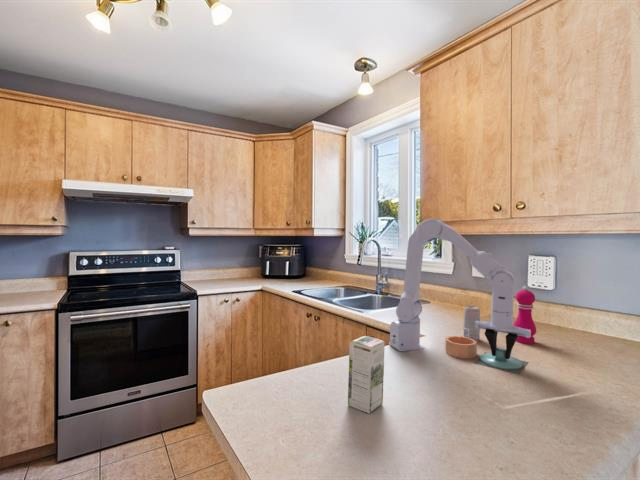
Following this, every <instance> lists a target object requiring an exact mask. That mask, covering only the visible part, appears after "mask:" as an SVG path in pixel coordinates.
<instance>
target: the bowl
mask: <svg viewBox="0 0 640 480" xmlns="http://www.w3.org/2000/svg"><path fill="white" fill-rule="evenodd" d="M477 348H478V341H475V340H473V339H471V338H467V337H463V336H460V335H450V336H449V335H448V336H446V337H445V340H444V351H445V353H446V354H447V355H449V356H451V357H455V358H459V359H473V358H476V357H477V355H478V349H477Z"/></svg>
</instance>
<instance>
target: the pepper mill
mask: <svg viewBox="0 0 640 480" xmlns="http://www.w3.org/2000/svg"><path fill="white" fill-rule="evenodd" d="M515 301H517V304H516V308H517V309H518V314H517V316H516V319H515V321H513V326H516V327H520V328H524V329H528V330H531V337H530V338H526V337H524V336H519V337H518V338H517V340H516V342H517V343H519V344H525V345H533V344H535V339H536V338H535V337H534V335H536V334H537V326H536V324H535V322H534V320H533V315H532V311H533V309H534V303H535V301H536V296H535V294H534V293H533V292H532V291H531V290H529V286H527V285H524V286H523V287H522V290H519V291H518V292H516V293H515Z"/></svg>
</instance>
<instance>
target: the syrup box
mask: <svg viewBox="0 0 640 480" xmlns="http://www.w3.org/2000/svg"><path fill="white" fill-rule="evenodd" d="M385 343H386V342H385V340H381V339H379V338H376V337H373V336H367V335H363V336H360V337H358V338H356V339H353V340H351V341H349V354H348V355H349V357H348V385H347V386H348V389H347V393H348V394H347V405H348V406H349V407H351V408H352V409H356V410H358V411H361V412H364V413H366V412H367V414H369V413H370V414H371V413H373V412H374V411H375V410H377V409H378V408H379V407H380V406H382V405H383V403H384V402H383V401H384V400H383V399H384V374H385V373H384V371H385V370H384V369H385Z"/></svg>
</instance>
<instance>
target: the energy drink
mask: <svg viewBox="0 0 640 480" xmlns="http://www.w3.org/2000/svg"><path fill="white" fill-rule="evenodd" d="M476 321H481V309H480V307H479V306H474V305H465V306H464V308H463V332H462V333H463V334H462V335H463V336H462V337H467V338H471V339H473V340H475V341H476V342H479V341H480V336H481V335H480V333H481V331H480V330H481V328H479V329H477V328H475V322H476Z"/></svg>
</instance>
